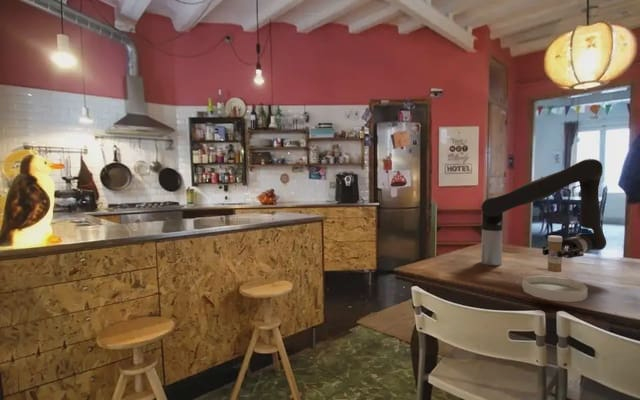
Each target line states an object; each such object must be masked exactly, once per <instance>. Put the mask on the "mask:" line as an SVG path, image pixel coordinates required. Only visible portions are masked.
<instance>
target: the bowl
mask: <svg viewBox="0 0 640 400" xmlns="http://www.w3.org/2000/svg"><path fill="white" fill-rule="evenodd" d="M521 282H522V285H521V286H522V290H523V292H524V293H525V294H528V295H531V296H533V297H535V298H536V297H537V298H540V299H543V300H544V299H545V300H548V301H555V302H565V303H573V302H583V301H584V300H586V299H587V298H588V289H589V288H588V287H587V285H585V284H584V283H582V282H579V281H576V280H573V279H571V278H570V279H569V278H564V277H559V276H551V275H531V276H529V275H528V276H526V277H524V278H522V281H521Z"/></svg>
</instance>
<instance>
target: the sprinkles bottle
mask: <svg viewBox="0 0 640 400" xmlns="http://www.w3.org/2000/svg"><path fill="white" fill-rule="evenodd" d="M562 240H563V236H561V235H548V236H547V241H548V243H547V244H548V255H547V271H548V272H551V273H561V272H563V271H562V263H563V262H562V257H560V258H559V257H558V256H557V255H558V251H561V250H562Z"/></svg>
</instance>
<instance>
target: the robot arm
mask: <svg viewBox="0 0 640 400" xmlns="http://www.w3.org/2000/svg"><path fill="white" fill-rule="evenodd" d="M603 168H604V167H603V164H602V162H601V161H600V160H598V159H595V158H587V159H586V158H585V159H583V160H581V161H578V162H577V163H575V164H573V165H571V166H568V167H566V168H564V169H562V170H560V171H557V172H554V173H551V174H548V175H546V176H543V177H541V178H538V179H536V180H532V181H530V182H527V183H525V184H524V185H521V186H519V187H518V188H516V189H514V190H512V191H510V192H507V193H505V194H502V195H499V196H498V195H497V196H495V197H494V196H492V197H488V198H486V199H485V200H484V201H483V202H482V205H481V211H482V216H481V217H482V221H481V243H480V244H481V249H480V250H481V254H480V257H481V258H480V259H481V260H480V261H481V264H482V265H487V266H501V265H502V263H503V259H502V258H503V223H504V222H503V219H504V218H503V217H504V216H503V215H504V213H506V212H507V211H509V210H512V209H515V208H517V207H520V206H524V205H528V204H532V203H535V202H538V201H541V200H543V199H545V198H548V197H550V196H553V195H554V194H557V193H558V192H559V191H561V190H562V189H564V188H566V187H568V186H570V185H573V184H575V183H579V186H580V205H579V225H580V227H581V228H583V229H589V230H592V232H589V233H588V232H587V233H586V232H585V233H583V232H582V233H578V234H576V235H575V236H571V237H567V238H564V239H563V238H562V250H561V251H558V255H557V256H558V257H559V258H560V257H563V258H567V259H572V258H579V257H584V254H585V253H588V252H589V251H602V250H604V249H605V248H606V246H607V239H606V236H605V234H604V232H603V229H602V225H601V207H600V199H599V198H600V197H599V192H600V191H599V188H600V183H601V178H602V176H603V170H604V169H603ZM542 255H543V256H548V243H545V244H544V245H542Z"/></svg>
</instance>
